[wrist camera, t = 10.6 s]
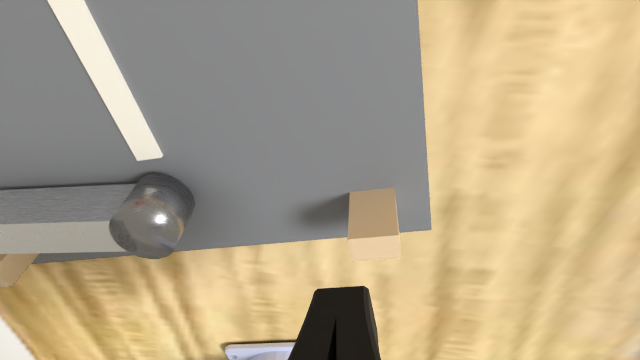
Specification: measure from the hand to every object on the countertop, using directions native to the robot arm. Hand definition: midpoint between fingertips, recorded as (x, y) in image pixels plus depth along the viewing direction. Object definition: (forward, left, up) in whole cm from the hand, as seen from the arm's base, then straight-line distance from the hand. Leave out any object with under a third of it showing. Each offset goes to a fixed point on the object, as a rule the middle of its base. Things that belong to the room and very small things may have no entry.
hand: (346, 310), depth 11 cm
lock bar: (-1, +14, -7) cm, 15 cm away
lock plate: (+3, +9, -9) cm, 13 cm away
